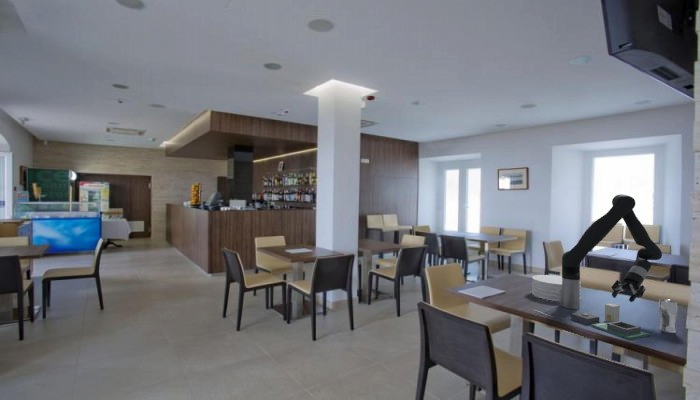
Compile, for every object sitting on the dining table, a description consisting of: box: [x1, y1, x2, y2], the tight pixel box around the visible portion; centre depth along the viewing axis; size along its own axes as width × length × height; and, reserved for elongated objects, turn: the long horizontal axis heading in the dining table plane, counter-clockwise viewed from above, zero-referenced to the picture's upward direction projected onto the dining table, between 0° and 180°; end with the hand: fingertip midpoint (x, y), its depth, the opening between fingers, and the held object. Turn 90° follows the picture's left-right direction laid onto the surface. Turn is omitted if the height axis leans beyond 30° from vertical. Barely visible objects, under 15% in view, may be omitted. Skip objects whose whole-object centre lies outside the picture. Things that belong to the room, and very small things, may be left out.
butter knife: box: [533, 309, 554, 318], centre depth 197 cm, size 1×27×3 cm
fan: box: [570, 311, 600, 326], centre depth 191 cm, size 9×9×4 cm
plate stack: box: [531, 274, 582, 303], centre depth 238 cm, size 28×28×12 cm
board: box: [590, 320, 650, 340], centre depth 177 cm, size 18×14×4 cm
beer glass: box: [658, 298, 678, 334], centre depth 178 cm, size 7×7×15 cm
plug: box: [604, 303, 620, 322], centre depth 190 cm, size 4×5×9 cm
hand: (621, 298), depth 193 cm, fingers open, 8 cm apart
